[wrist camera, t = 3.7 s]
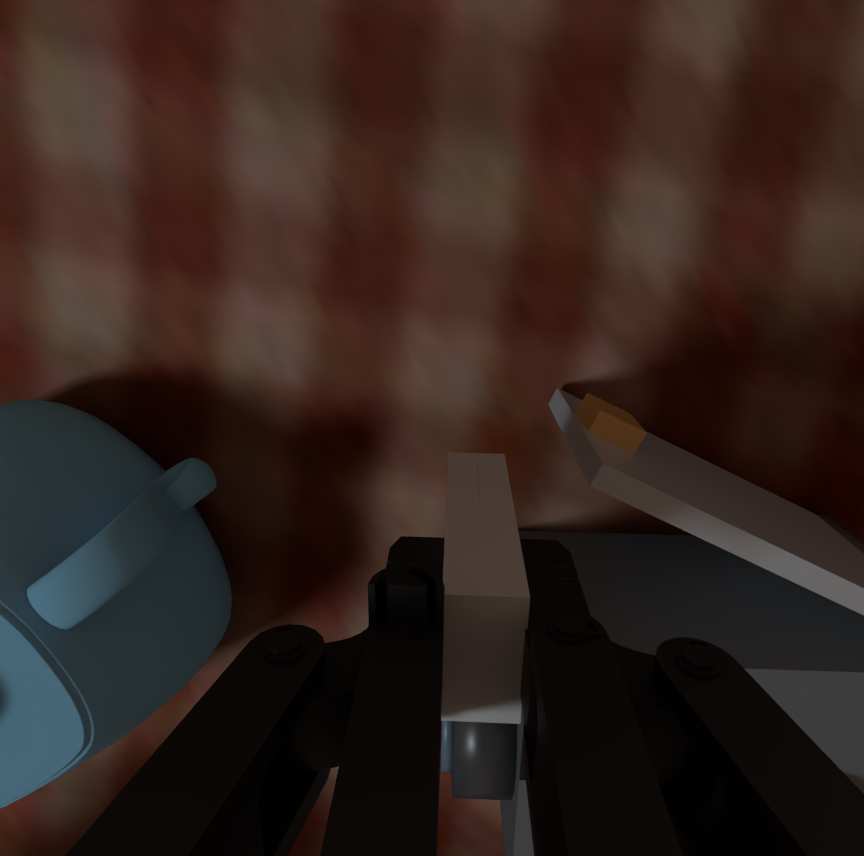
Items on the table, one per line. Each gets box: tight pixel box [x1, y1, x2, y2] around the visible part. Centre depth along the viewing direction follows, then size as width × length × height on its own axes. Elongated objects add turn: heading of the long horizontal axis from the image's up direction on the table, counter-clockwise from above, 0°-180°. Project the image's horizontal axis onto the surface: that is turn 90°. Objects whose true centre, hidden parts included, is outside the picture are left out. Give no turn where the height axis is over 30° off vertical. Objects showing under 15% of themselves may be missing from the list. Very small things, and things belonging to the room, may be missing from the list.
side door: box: [548, 388, 864, 615], centre depth 21 cm, size 12×2×8 cm, turn 64°
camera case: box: [441, 531, 864, 856], centre depth 23 cm, size 14×10×9 cm
